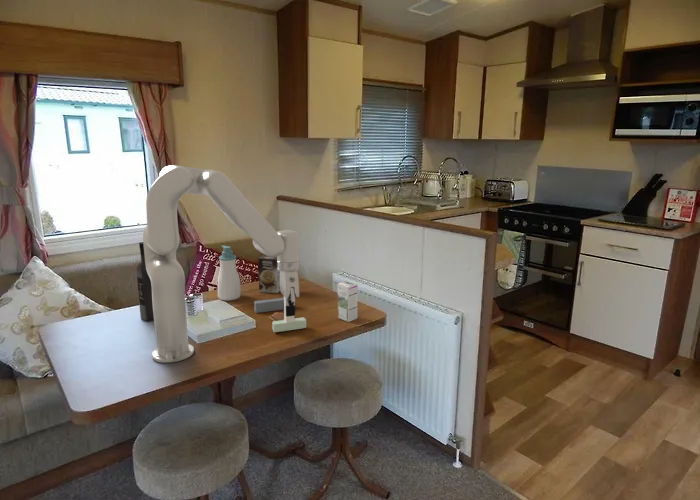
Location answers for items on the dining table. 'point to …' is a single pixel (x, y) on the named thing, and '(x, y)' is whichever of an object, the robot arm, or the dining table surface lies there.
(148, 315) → the wine bottle
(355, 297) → the syrup box
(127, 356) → the dining table surface
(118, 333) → the dining table surface
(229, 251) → the soap bottle
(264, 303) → the rail
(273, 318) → the shard
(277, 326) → the green white t block
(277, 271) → the coffee box
